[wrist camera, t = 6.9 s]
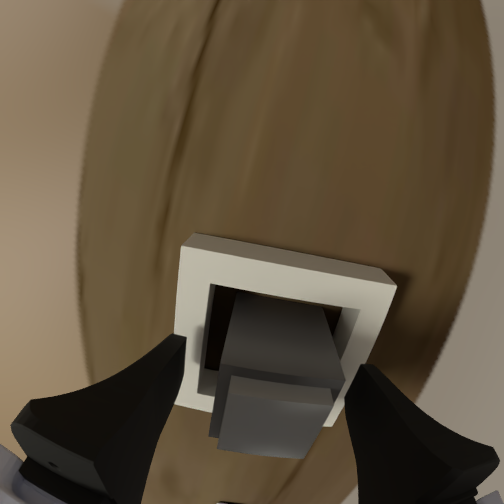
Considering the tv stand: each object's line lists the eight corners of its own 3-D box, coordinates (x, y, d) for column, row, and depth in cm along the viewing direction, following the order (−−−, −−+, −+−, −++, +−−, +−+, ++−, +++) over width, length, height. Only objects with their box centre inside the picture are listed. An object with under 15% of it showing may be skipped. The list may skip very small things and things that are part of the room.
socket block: (326, 401, 15) (331, 426, 13) (180, 379, 15) (171, 403, 13) (380, 268, 13) (397, 285, 11) (194, 232, 13) (181, 245, 11)
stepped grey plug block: (300, 370, 15) (310, 463, 9) (225, 359, 15) (205, 451, 9) (322, 306, 13) (350, 397, 8) (237, 291, 13) (216, 380, 8)
